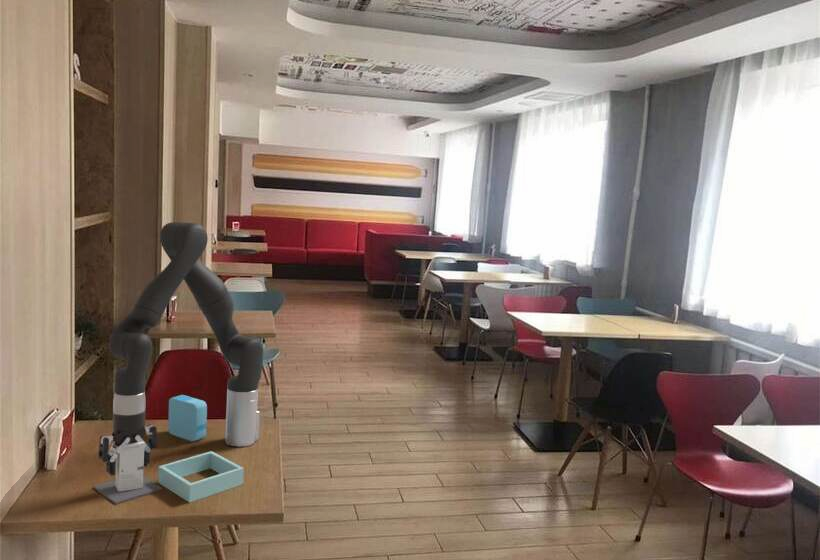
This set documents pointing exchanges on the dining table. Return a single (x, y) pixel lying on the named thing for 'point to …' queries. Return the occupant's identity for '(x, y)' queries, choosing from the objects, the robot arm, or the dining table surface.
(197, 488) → the bin
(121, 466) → the skincare box
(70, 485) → the dining table surface
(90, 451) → the dining table surface
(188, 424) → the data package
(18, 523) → the dining table surface
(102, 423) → the dining table surface
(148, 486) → the mat
